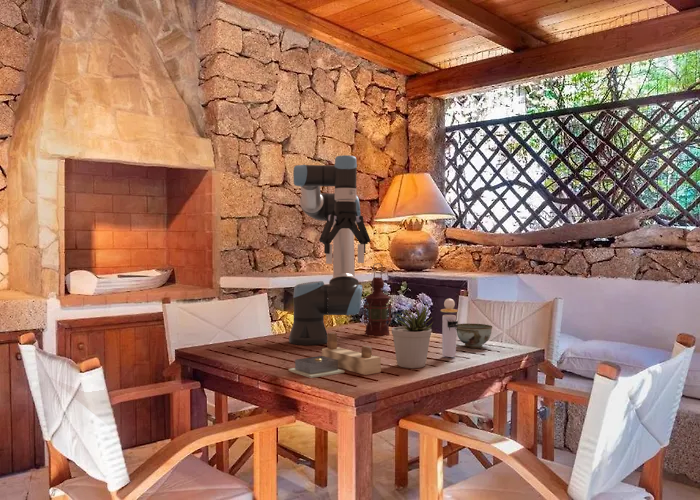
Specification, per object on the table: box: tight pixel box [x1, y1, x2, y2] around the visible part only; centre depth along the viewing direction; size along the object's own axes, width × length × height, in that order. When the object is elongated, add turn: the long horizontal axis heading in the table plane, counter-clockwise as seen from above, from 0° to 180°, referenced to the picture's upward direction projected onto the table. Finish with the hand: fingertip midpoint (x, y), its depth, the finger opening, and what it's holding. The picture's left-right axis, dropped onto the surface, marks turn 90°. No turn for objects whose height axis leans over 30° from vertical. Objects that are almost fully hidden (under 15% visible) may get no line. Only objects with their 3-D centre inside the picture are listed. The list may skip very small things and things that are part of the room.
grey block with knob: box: [294, 355, 339, 374], centre depth 182 cm, size 8×10×3 cm
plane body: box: [321, 332, 382, 376], centre depth 188 cm, size 22×6×10 cm, turn 38°
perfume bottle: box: [440, 297, 459, 357], centre depth 205 cm, size 6×6×20 cm
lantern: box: [362, 262, 393, 337], centre depth 257 cm, size 12×12×30 cm
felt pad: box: [288, 367, 345, 379], centre depth 182 cm, size 12×12×1 cm
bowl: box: [456, 323, 493, 349], centre depth 227 cm, size 14×13×8 cm
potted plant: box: [391, 303, 434, 369], centre depth 191 cm, size 13×14×20 cm
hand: (345, 263), depth 208 cm, fingers open, 13 cm apart
